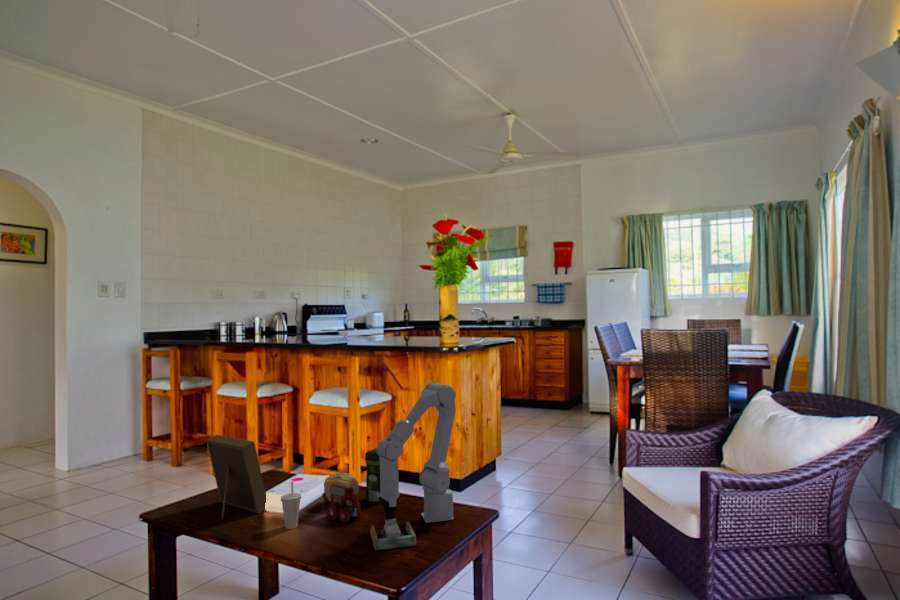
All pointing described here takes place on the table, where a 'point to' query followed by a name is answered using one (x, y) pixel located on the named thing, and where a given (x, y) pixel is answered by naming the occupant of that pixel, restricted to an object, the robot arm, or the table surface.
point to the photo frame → (237, 473)
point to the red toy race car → (343, 503)
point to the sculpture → (340, 483)
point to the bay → (394, 539)
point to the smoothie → (291, 508)
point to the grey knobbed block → (391, 529)
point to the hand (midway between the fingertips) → (389, 522)
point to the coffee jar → (372, 476)
